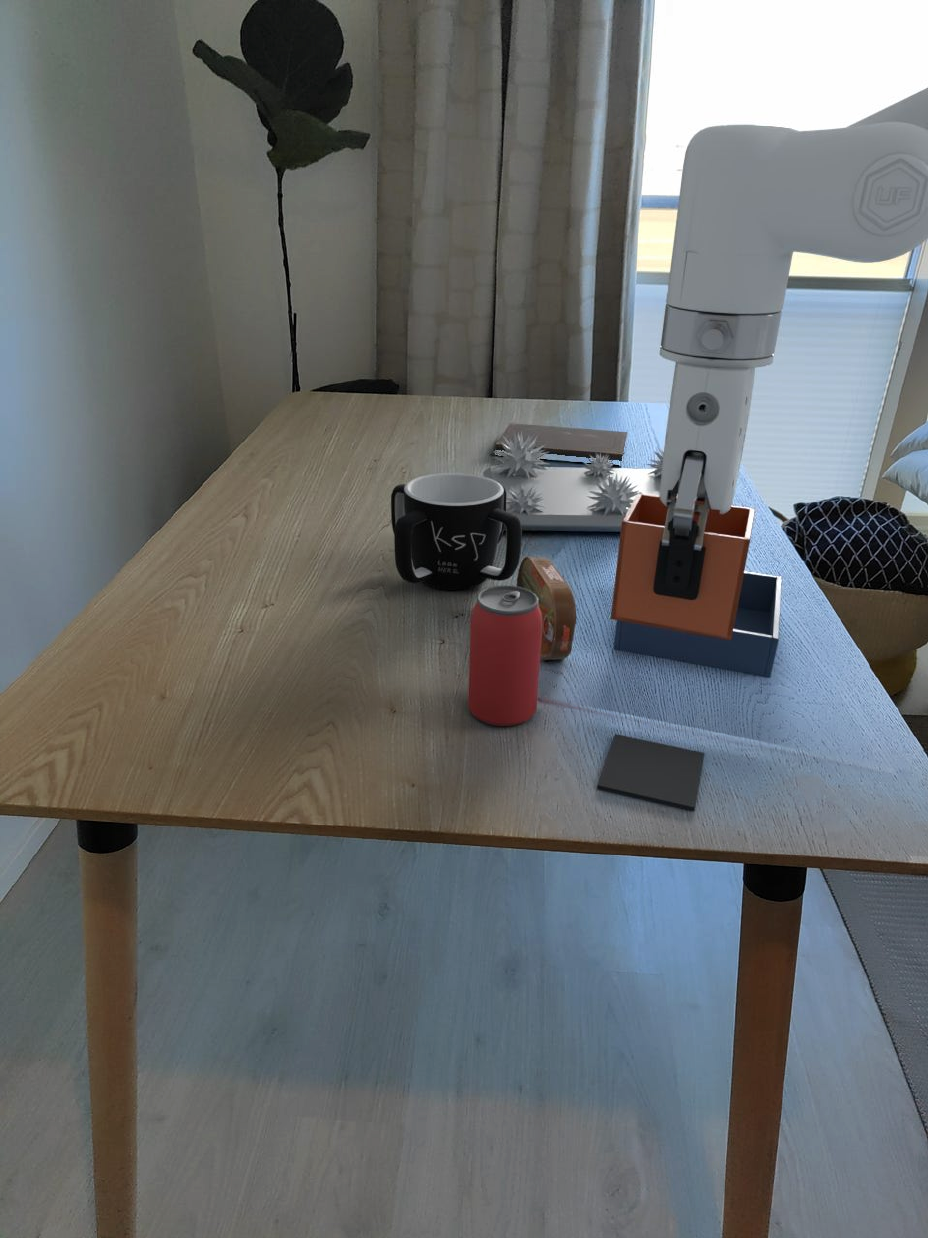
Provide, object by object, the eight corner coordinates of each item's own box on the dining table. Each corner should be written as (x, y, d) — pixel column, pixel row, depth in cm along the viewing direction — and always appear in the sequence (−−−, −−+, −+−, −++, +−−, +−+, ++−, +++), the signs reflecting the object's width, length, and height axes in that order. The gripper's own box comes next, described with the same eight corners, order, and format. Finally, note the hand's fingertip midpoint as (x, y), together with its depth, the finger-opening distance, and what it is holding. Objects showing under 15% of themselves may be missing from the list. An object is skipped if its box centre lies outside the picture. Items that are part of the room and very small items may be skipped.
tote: (774, 615, 101) (782, 576, 99) (769, 682, 88) (778, 639, 85) (637, 593, 106) (642, 555, 104) (612, 653, 92) (617, 611, 90)
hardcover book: (509, 434, 170) (510, 422, 169) (626, 443, 166) (627, 431, 165) (494, 456, 156) (494, 444, 155) (621, 467, 152) (622, 454, 151)
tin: (512, 610, 101) (516, 544, 97) (538, 609, 101) (543, 543, 98) (546, 676, 88) (552, 602, 84) (575, 674, 88) (583, 600, 84)
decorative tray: (490, 537, 121) (492, 469, 117) (482, 480, 144) (484, 421, 140) (733, 540, 122) (745, 472, 118) (687, 482, 145) (696, 424, 141)
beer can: (547, 704, 83) (556, 593, 78) (516, 737, 78) (523, 621, 73) (488, 685, 86) (493, 576, 80) (455, 716, 81) (457, 602, 75)
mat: (703, 756, 76) (704, 752, 76) (694, 811, 69) (694, 807, 69) (614, 737, 78) (615, 733, 78) (597, 789, 72) (597, 785, 72)
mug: (382, 603, 102) (380, 508, 96) (393, 551, 116) (392, 465, 111) (519, 606, 102) (524, 511, 96) (513, 554, 116) (518, 468, 111)
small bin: (737, 602, 69) (755, 508, 65) (731, 640, 63) (750, 540, 59) (626, 583, 72) (637, 492, 68) (610, 619, 66) (621, 521, 62)
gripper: (772, 363, 49) (722, 633, 58) (780, 322, 64) (739, 543, 72) (642, 352, 52) (611, 614, 60) (678, 315, 66) (650, 530, 74)
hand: (681, 573), depth 66 cm, fingers closed on small bin, 7 cm apart
